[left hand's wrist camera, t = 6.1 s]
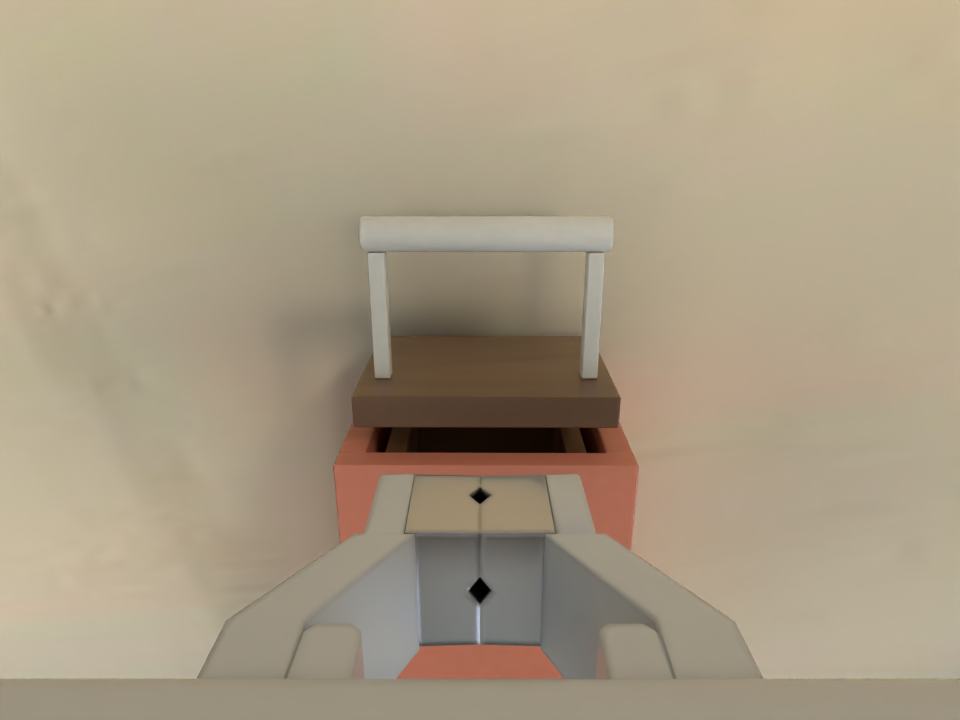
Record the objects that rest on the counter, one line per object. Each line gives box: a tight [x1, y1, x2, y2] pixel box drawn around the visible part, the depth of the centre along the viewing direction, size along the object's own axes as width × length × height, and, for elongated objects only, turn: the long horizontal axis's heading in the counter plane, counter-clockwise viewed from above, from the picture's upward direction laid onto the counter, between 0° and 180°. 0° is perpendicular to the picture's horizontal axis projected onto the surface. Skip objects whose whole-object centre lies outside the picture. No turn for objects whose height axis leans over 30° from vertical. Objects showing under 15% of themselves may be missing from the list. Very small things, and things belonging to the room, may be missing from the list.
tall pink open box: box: [333, 422, 639, 679], centre depth 31 cm, size 21×11×9 cm, turn 0°
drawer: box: [352, 216, 621, 453], centre depth 29 cm, size 26×10×7 cm, turn 0°
